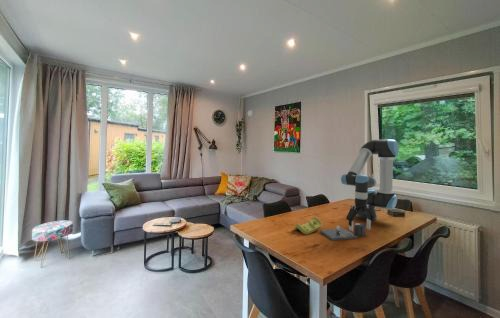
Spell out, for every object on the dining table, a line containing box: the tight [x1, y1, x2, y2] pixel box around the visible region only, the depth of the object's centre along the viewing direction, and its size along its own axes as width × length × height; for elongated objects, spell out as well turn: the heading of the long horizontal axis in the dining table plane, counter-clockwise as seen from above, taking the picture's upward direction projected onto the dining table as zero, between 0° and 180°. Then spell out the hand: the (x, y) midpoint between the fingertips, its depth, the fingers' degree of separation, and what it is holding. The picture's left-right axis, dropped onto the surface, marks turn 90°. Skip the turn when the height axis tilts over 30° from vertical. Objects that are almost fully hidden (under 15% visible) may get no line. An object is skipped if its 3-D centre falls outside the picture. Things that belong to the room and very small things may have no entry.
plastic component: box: [293, 216, 323, 235], centre depth 159 cm, size 20×7×10 cm
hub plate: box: [319, 225, 358, 242], centre depth 149 cm, size 18×15×6 cm
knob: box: [353, 222, 367, 237], centre depth 152 cm, size 7×7×7 cm
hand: (359, 229), depth 152 cm, fingers open, 13 cm apart
